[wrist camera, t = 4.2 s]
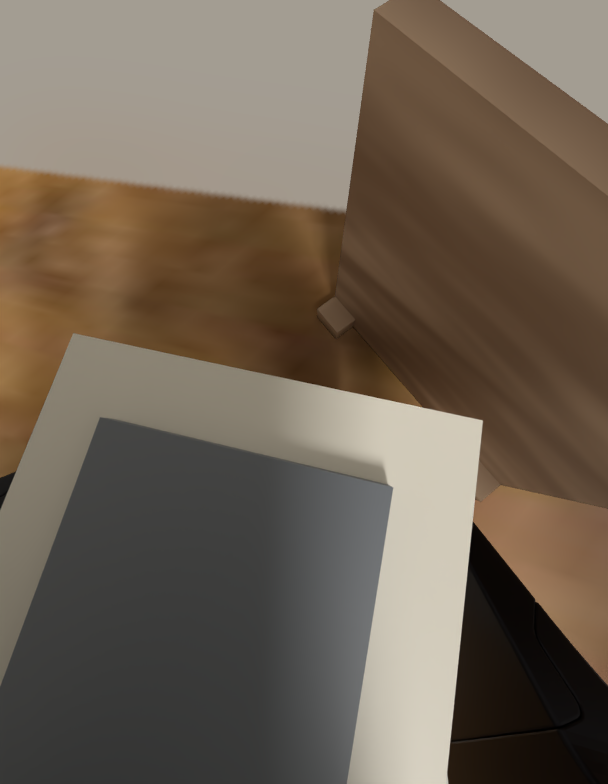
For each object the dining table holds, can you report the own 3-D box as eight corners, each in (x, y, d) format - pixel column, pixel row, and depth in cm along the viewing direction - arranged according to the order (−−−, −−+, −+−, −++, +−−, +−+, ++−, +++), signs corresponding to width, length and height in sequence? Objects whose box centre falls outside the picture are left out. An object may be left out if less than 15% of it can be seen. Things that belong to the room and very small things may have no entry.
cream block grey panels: (327, 531, 15) (424, 1172, 2) (242, 509, 15) (-190, 903, 2) (345, 439, 16) (494, 418, 3) (265, 420, 16) (58, 325, 3)
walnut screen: (469, 498, 15) (1086, 712, 3) (316, 316, 17) (321, 41, 5) (521, 453, 15) (1258, 488, 3) (364, 282, 18) (464, -46, 6)
